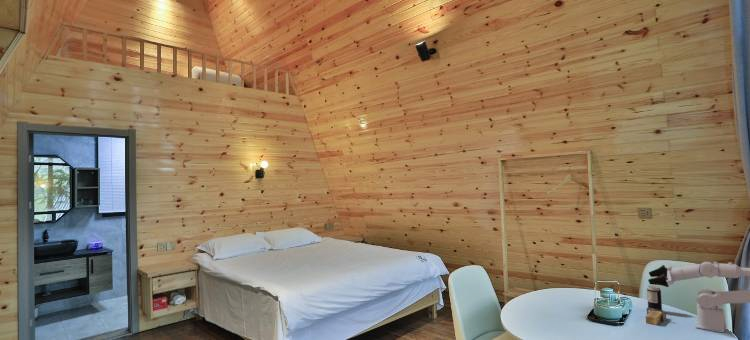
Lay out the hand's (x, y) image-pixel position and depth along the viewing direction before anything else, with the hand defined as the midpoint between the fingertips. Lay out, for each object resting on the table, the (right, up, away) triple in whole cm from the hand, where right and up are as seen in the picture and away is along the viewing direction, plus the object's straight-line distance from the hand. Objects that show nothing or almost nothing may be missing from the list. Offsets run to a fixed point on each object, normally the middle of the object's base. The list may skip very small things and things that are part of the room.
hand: (649, 278), depth 194 cm
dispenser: (+3, -19, -1) cm, 19 cm away
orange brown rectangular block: (0, -19, -3) cm, 19 cm away
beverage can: (+9, -19, +10) cm, 24 cm away
